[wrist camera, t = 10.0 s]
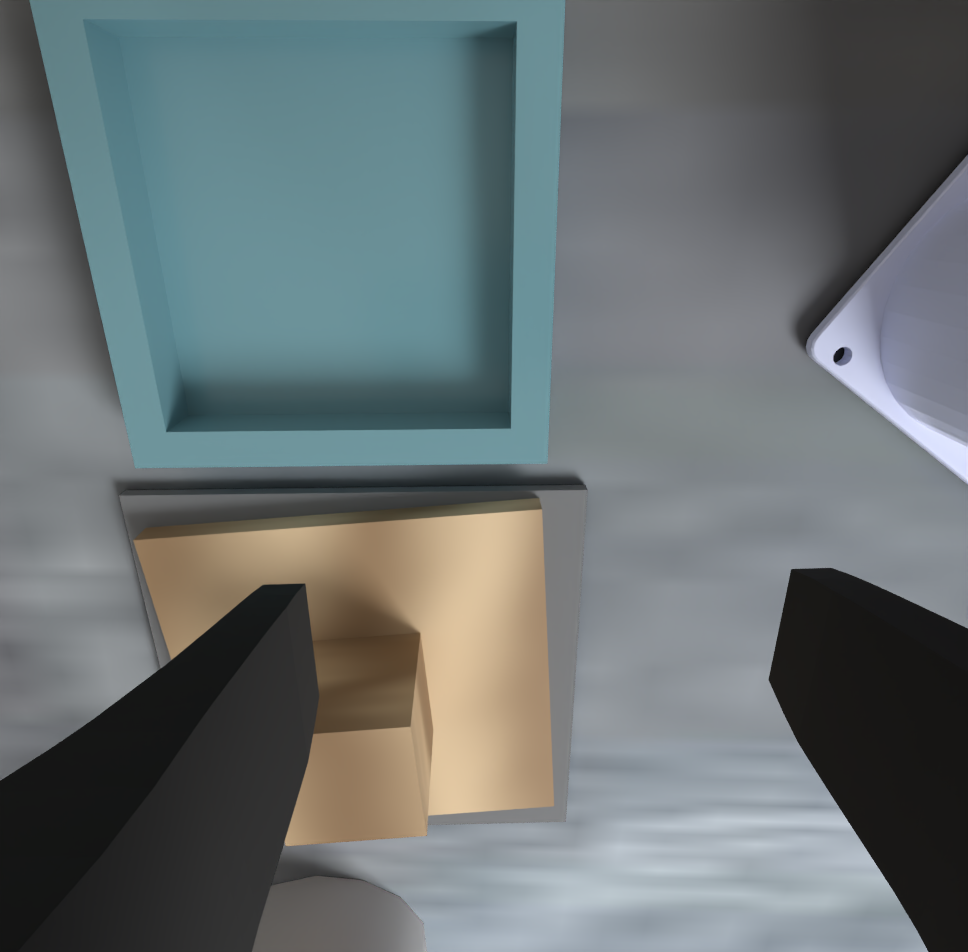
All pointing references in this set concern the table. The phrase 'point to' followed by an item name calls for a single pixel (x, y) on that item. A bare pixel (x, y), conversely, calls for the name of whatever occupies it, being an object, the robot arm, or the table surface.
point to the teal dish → (317, 222)
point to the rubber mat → (557, 502)
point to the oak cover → (391, 653)
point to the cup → (337, 918)
